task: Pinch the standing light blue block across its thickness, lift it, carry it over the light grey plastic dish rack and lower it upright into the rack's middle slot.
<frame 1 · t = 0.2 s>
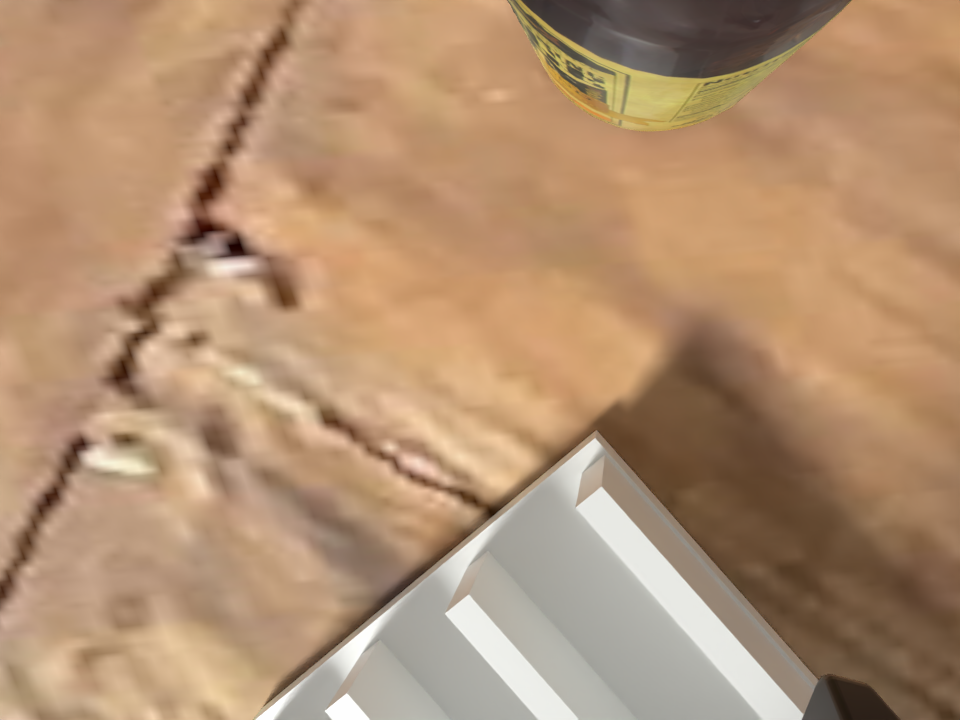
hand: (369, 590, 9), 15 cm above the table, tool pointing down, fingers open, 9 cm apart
sauce bottle: (657, 23, 22), on the table
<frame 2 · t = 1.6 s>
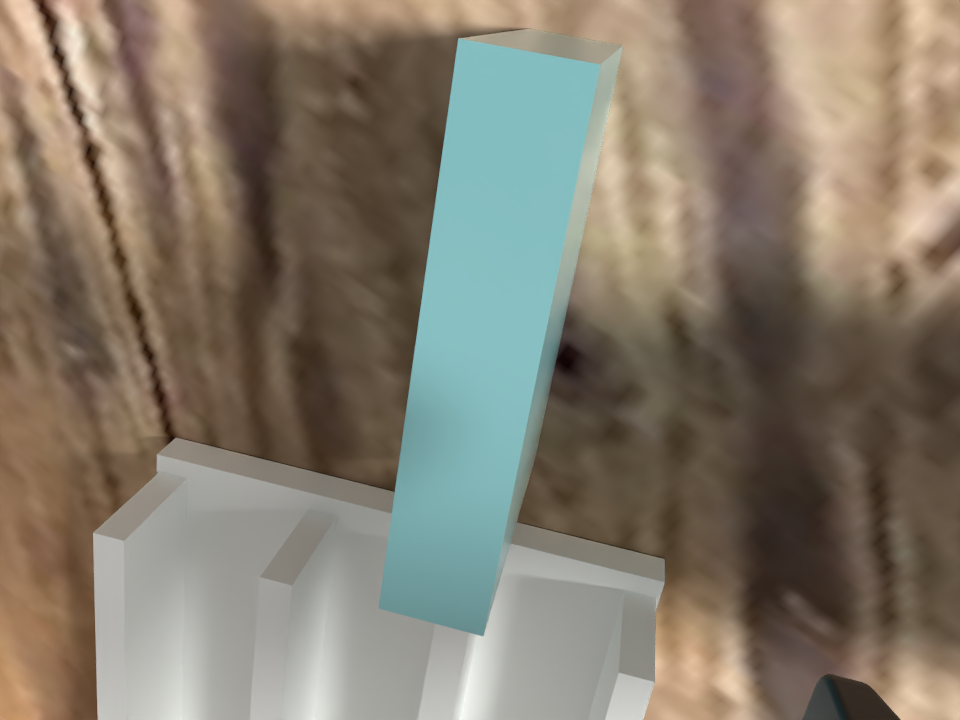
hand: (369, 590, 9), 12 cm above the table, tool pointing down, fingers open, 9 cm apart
light blue block: (533, 262, 20), on the table
dish rack: (382, 692, 26), on the table
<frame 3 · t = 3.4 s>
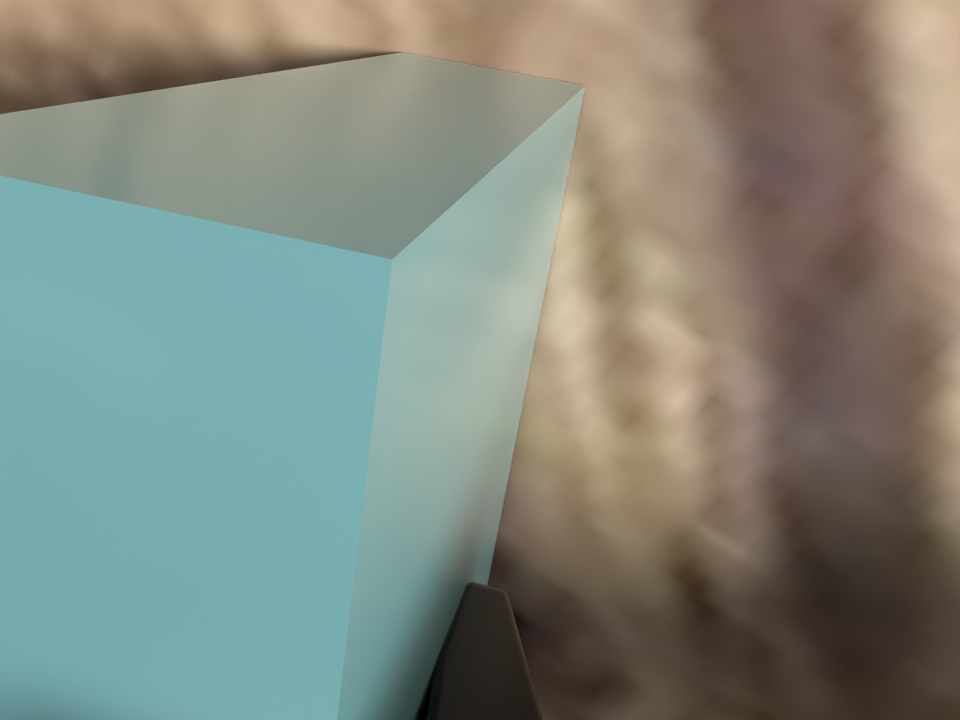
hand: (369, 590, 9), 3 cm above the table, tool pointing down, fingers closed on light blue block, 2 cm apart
light blue block: (431, 470, 11), on the table, touching gripper
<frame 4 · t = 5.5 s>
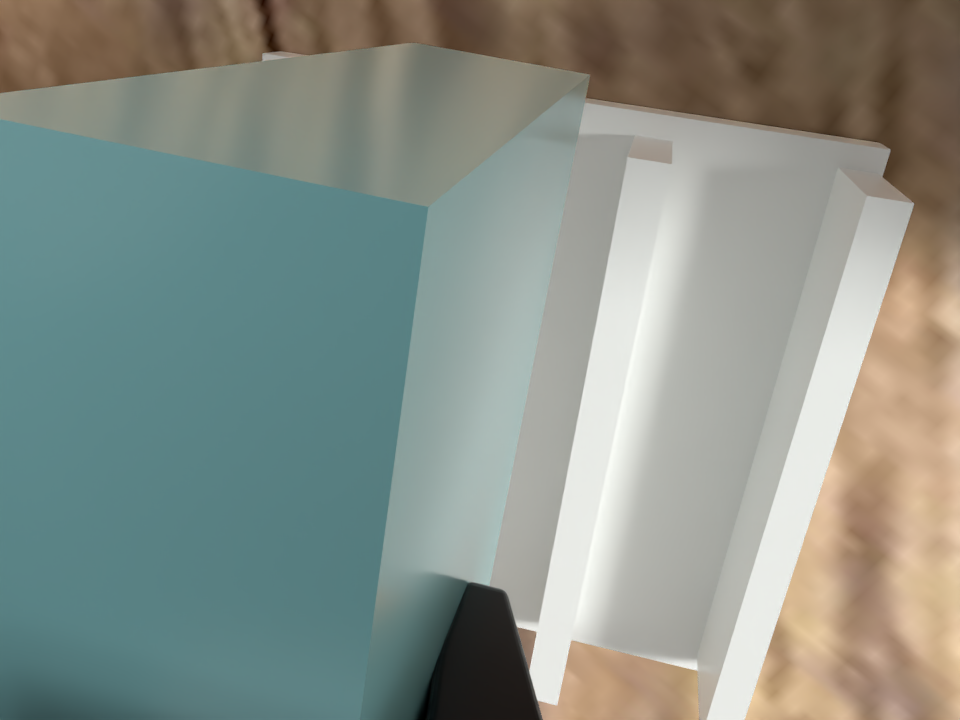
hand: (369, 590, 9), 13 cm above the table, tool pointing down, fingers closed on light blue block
light blue block: (439, 450, 12), point 10 cm above the table, touching gripper
dish rack: (521, 376, 22), on the table
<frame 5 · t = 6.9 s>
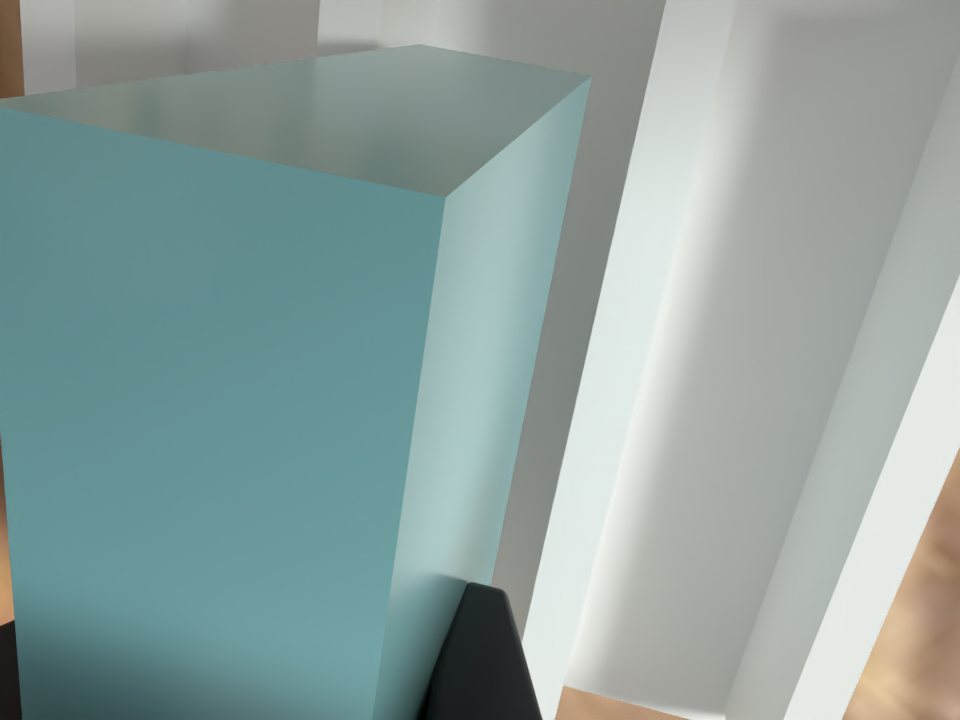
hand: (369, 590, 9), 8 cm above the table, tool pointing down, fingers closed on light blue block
light blue block: (444, 442, 12), point 5 cm above the table, touching gripper
dish rack: (499, 329, 16), on the table
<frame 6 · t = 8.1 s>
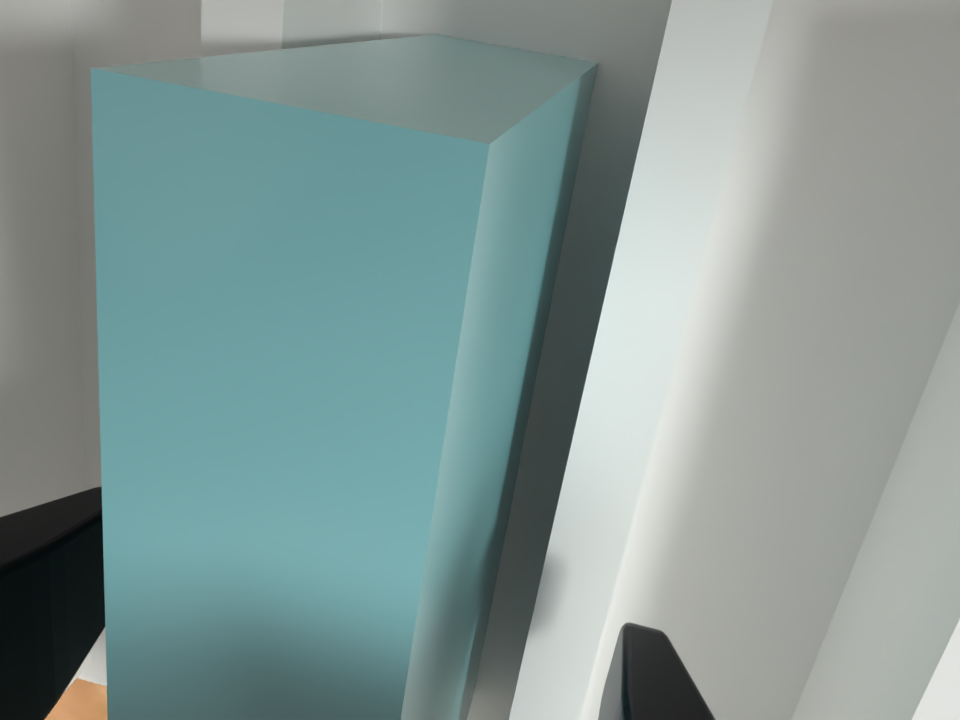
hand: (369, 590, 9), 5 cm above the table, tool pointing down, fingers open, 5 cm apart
light blue block: (458, 412, 12), point 1 cm above the table, touching dish rack
dish rack: (468, 395, 13), on the table
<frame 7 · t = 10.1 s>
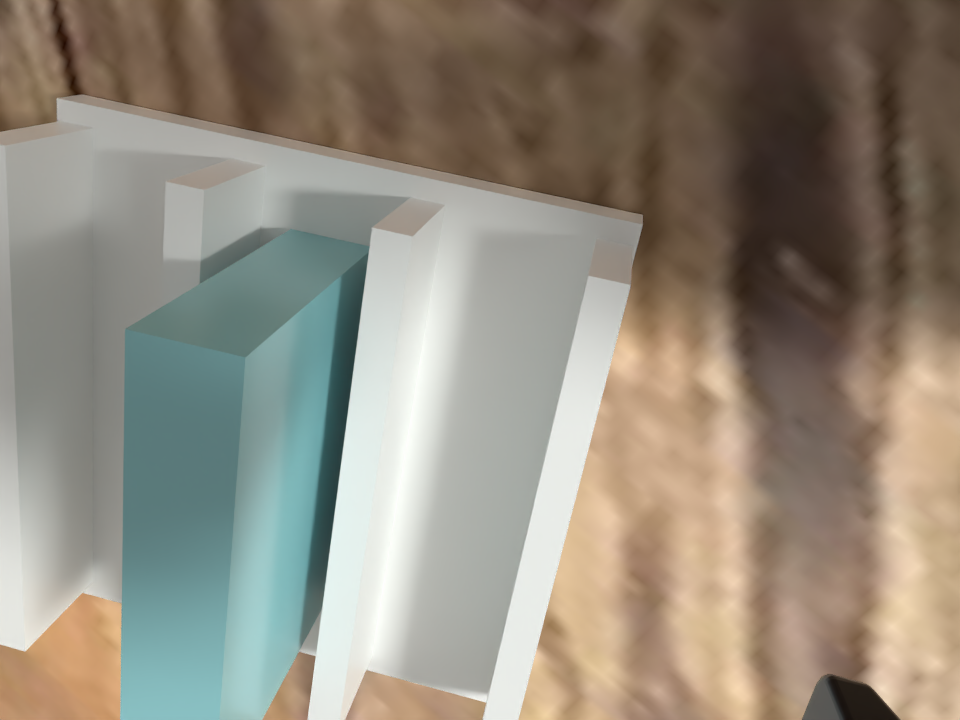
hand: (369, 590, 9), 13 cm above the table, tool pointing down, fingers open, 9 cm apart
light blue block: (311, 428, 22), point 1 cm above the table, touching dish rack
dish rack: (322, 417, 23), on the table
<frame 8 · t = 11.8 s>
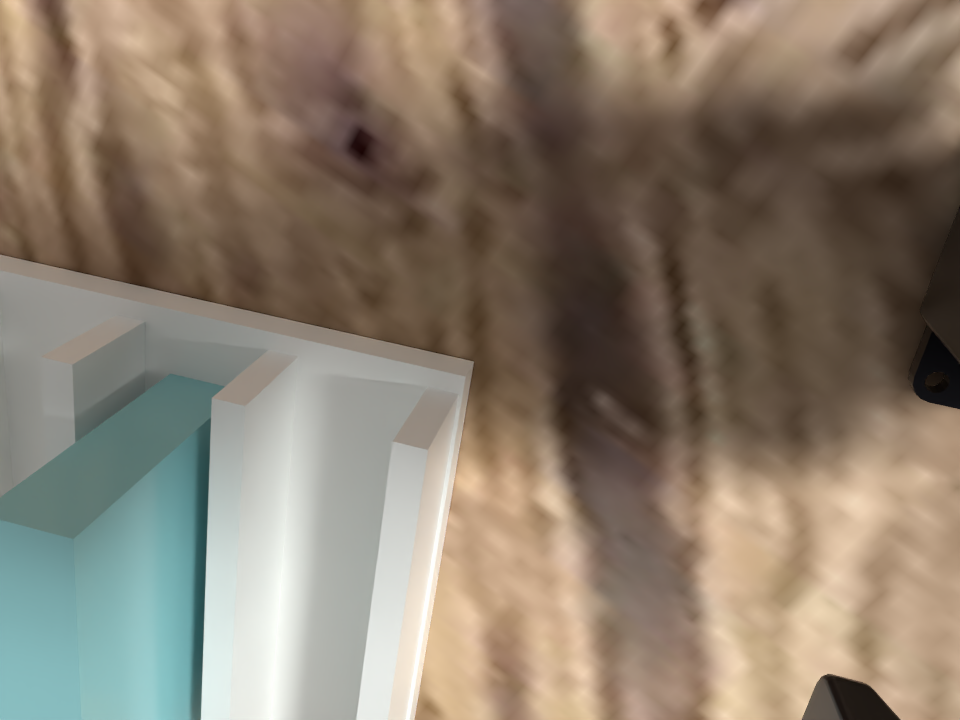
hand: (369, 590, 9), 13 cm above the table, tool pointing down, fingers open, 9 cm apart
light blue block: (201, 538, 25), point 1 cm above the table, touching dish rack
dish rack: (216, 524, 26), on the table
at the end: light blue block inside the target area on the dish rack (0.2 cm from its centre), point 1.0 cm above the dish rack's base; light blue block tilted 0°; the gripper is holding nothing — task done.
